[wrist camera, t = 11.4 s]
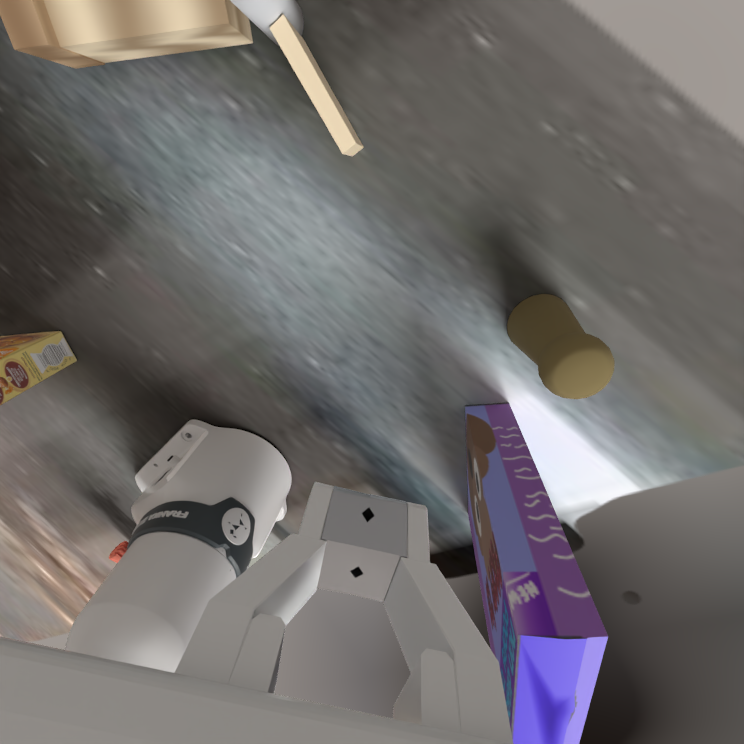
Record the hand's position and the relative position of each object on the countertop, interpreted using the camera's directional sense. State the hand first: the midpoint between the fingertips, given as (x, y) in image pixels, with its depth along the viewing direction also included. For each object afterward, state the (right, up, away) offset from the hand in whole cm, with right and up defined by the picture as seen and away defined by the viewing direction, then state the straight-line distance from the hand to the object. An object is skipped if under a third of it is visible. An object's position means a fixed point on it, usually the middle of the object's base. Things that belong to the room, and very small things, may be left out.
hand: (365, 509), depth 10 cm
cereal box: (+14, -8, +36) cm, 39 cm away
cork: (+17, +9, +27) cm, 33 cm away
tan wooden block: (-16, +29, +18) cm, 38 cm away
